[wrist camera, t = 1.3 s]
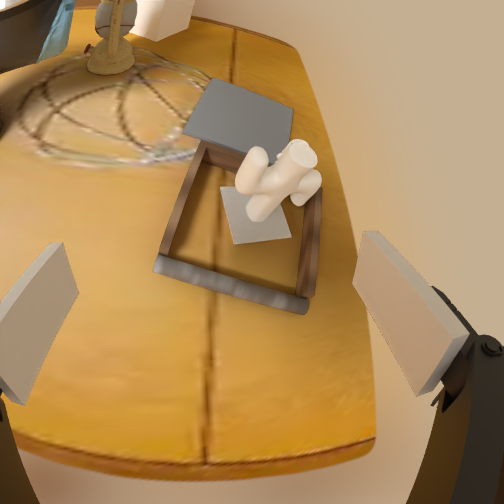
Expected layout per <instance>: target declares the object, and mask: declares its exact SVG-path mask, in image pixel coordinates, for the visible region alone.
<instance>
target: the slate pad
mask: <svg viewBox="0 0 504 504" xmlns="http://www.w3.org/2000/svg"><path fill="white" fill-rule="evenodd" d="M292 117H293V109H292V108H290V107H288V106H285V105H283V104H281V103H279V102H276V101H274V100H272V99H269V98H267V97H264V96H262V95H260V94H257V93H255V92H252V91H249V90H247V89H244V88H242V87H239V86H236V85H234V84H231V83H228V82H225V81H222V80H219V79H216V78H212V80H211V81H210V83H209V85H208V87H207V88H206V90H205V92H204V93H203V95H202V97H201V99H200V100H199V102H198V104H197V106H196V108H195V109H194V111H193V113H192V115H191V117H190V119H189V120H188V122H187V124H186V126H185V128H184V130H183V134H186V135H189V136H192V137H195V138H198V139H202V140H205V141H208V142H210V143H213V144H216V145H219V146H222V147H224V148H227V149H230V150H233V151H235V152H238V153H241V154H243V155H247V154H248V152H249V150H250V149H251V148H253V147H255V146H259V147H261V148H263V149H264V150H265V151H266V153H267V155H268V159H269V163H268V164H269V165H271V166H272V165H273V164H275V162H276V161H277V160H278V159H277V155H278V154H279V153H282V150H284V149H285V148H286V146H287V145H288V144H289V139H290V131H291V124H292Z"/></svg>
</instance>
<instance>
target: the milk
mask: <svg viewBox="0 0 504 504" xmlns="http://www.w3.org/2000/svg"><path fill="white" fill-rule="evenodd" d="M136 1H137V4H138V5H137V16H136V19H135V24H134V25H135V26H134V27H133V28H132V29H131V30H130V31H129V32H131V33H134V34H136V35H139V36H142V37H144V38H147V39H150V40H152V41H155V42H157V41H159V40H162V39H164V38H166V37H168V36H171V35H173V34H175V33H178V32H180V31H183V30H185V29H188V26H189V22H190V18H191V14H192V10H193V6H194V3H195V0H136Z"/></svg>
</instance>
